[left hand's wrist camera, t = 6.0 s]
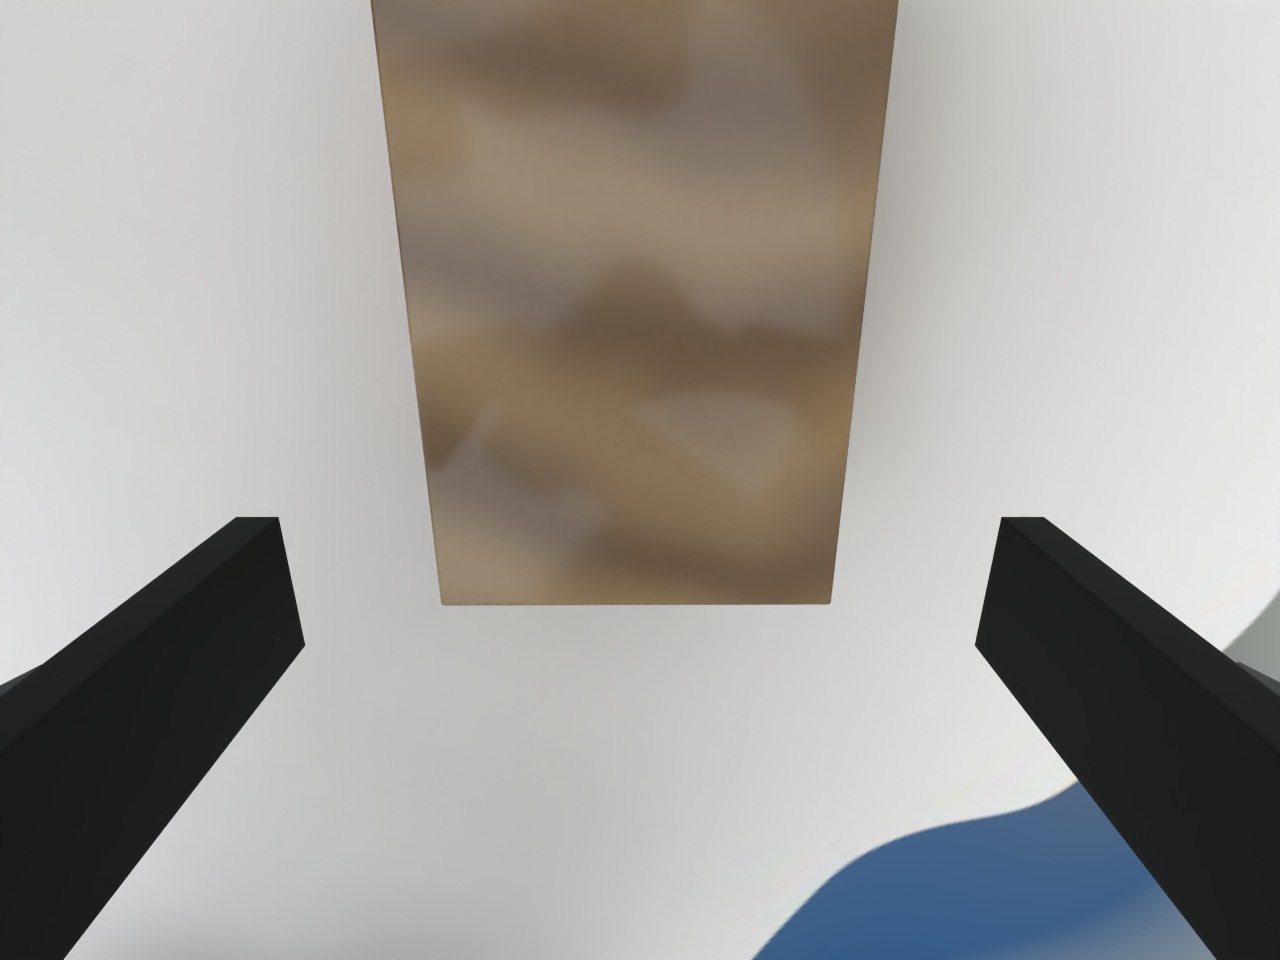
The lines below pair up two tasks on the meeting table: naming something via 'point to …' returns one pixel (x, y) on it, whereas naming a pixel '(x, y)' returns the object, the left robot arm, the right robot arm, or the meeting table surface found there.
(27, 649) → the meeting table surface
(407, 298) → the cabinet
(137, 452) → the meeting table surface
